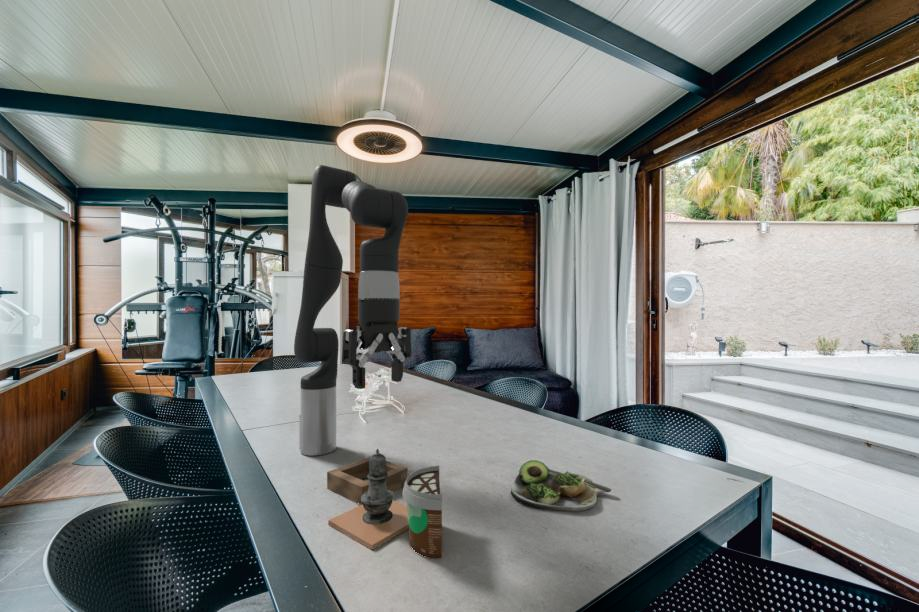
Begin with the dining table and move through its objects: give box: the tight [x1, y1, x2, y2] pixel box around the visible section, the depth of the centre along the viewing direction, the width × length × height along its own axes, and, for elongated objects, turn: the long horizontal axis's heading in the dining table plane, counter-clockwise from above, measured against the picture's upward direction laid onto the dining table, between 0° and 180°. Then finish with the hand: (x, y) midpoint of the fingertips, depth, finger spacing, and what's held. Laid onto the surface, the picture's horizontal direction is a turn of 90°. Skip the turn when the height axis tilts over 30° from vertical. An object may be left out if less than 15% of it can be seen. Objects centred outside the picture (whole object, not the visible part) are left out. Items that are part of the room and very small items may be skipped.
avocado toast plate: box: [510, 459, 612, 512], centre depth 81 cm, size 19×18×5 cm
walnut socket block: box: [326, 456, 409, 506], centre depth 84 cm, size 12×12×4 cm
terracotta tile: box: [328, 499, 409, 550], centre depth 70 cm, size 12×12×1 cm
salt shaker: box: [361, 448, 395, 525], centre depth 70 cm, size 6×6×12 cm
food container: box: [402, 465, 443, 560], centre depth 64 cm, size 12×6×10 cm, turn 5°
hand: (378, 384), depth 73 cm, fingers open, 8 cm apart
